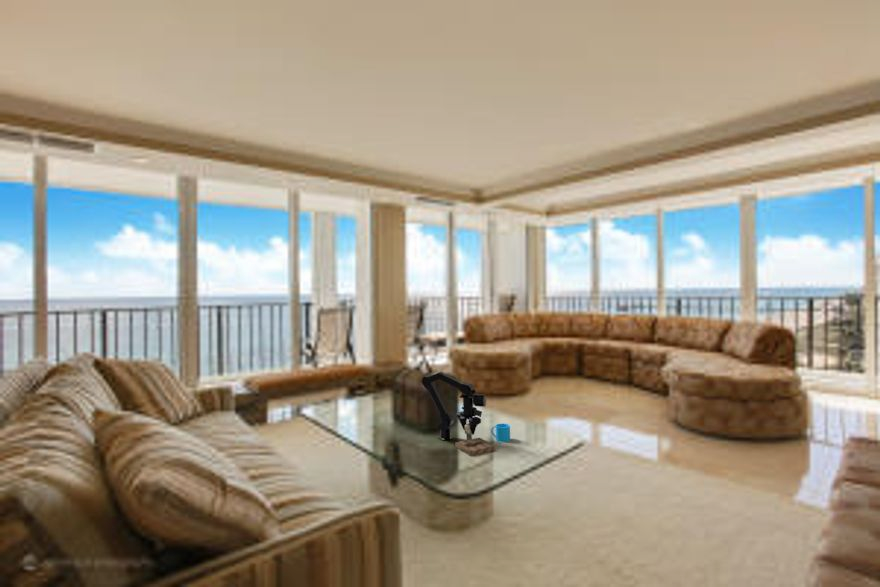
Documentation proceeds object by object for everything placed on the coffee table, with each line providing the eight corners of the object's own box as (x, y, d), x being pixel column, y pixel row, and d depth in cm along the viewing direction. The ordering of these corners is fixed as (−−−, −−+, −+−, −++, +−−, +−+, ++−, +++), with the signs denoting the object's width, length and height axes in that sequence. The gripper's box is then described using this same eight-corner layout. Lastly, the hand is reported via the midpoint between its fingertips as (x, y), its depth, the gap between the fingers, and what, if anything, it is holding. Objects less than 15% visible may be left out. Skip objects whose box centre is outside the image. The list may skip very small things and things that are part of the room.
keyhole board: (470, 456, 217) (470, 451, 217) (455, 447, 232) (455, 442, 232) (495, 450, 225) (495, 445, 225) (479, 442, 239) (479, 437, 239)
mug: (512, 438, 243) (512, 424, 243) (506, 442, 236) (505, 428, 236) (494, 435, 250) (494, 421, 250) (487, 439, 243) (487, 425, 243)
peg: (463, 440, 242) (463, 424, 243) (470, 438, 245) (470, 423, 245) (467, 442, 238) (467, 426, 238) (474, 441, 240) (474, 425, 241)
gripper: (488, 406, 237) (489, 434, 237) (471, 400, 254) (472, 426, 254) (471, 409, 232) (472, 437, 232) (455, 403, 249) (456, 429, 248)
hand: (468, 432), depth 242 cm, fingers open, 9 cm apart
